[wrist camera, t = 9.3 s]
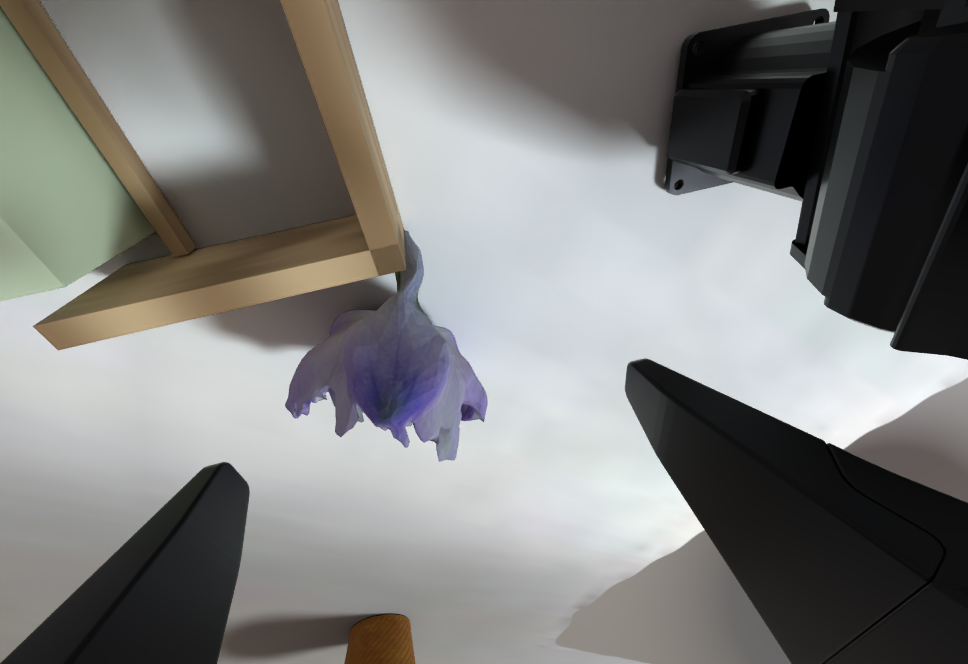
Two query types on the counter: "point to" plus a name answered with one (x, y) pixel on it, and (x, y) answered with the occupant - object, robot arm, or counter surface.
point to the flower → (393, 370)
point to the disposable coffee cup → (381, 641)
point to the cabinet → (244, 263)
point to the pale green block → (53, 183)
